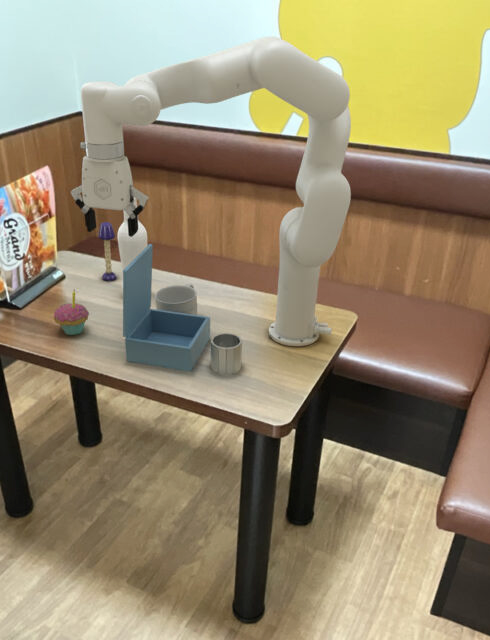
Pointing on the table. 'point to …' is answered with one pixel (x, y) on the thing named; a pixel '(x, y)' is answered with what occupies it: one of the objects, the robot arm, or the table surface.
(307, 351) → the table surface
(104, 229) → the toy lamp
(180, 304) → the teacup
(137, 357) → the box
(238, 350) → the steel cup
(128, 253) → the bottle
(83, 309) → the cupcake
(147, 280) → the lid
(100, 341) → the table surface
